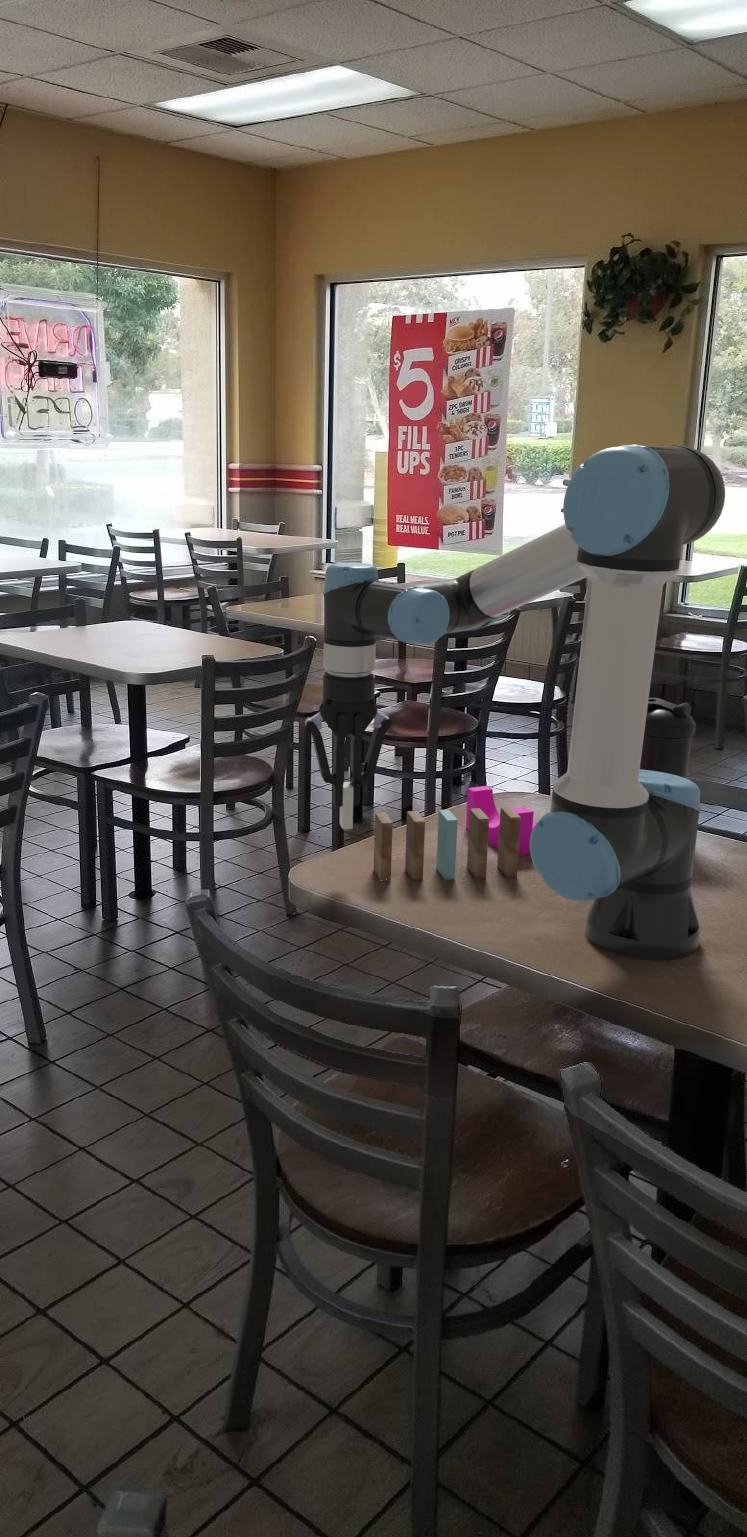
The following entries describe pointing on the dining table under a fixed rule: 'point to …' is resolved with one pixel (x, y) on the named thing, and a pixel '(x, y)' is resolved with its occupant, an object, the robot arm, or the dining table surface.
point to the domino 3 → (446, 844)
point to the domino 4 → (477, 843)
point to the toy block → (485, 802)
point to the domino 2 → (415, 845)
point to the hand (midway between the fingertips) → (346, 826)
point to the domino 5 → (508, 841)
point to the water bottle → (667, 737)
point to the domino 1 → (383, 846)
